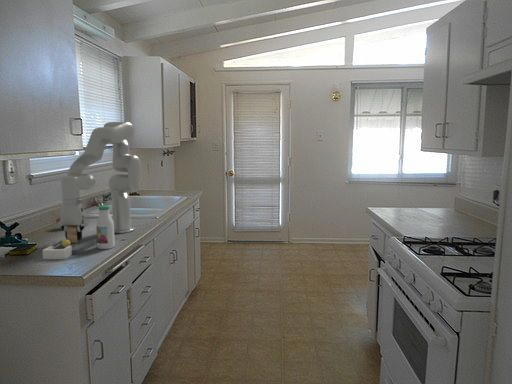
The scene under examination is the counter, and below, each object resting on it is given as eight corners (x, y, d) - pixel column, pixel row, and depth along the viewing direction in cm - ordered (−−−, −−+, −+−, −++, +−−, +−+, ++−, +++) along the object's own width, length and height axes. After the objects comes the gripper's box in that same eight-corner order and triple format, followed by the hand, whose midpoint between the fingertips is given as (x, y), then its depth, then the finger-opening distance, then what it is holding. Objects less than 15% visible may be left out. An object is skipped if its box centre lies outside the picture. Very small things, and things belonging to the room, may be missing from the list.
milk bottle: (109, 244, 191) (107, 204, 188) (118, 246, 186) (115, 205, 183) (94, 247, 185) (91, 206, 182) (103, 250, 180) (100, 208, 177)
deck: (61, 244, 190) (61, 240, 190) (92, 244, 190) (92, 240, 190) (44, 254, 174) (44, 250, 174) (78, 254, 174) (78, 250, 174)
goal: (51, 254, 174) (50, 245, 174) (72, 254, 174) (71, 245, 174) (43, 259, 168) (42, 250, 167) (65, 259, 168) (64, 250, 167)
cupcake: (68, 230, 219) (67, 209, 217) (53, 230, 219) (51, 209, 217) (75, 226, 228) (74, 206, 226) (60, 226, 228) (59, 206, 226)
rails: (59, 245, 182) (59, 244, 182) (79, 245, 182) (79, 243, 182) (50, 250, 174) (50, 248, 174) (71, 250, 174) (71, 248, 174)
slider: (71, 240, 189) (70, 224, 188) (80, 240, 189) (79, 224, 188) (67, 242, 185) (66, 226, 184) (77, 242, 185) (75, 226, 184)
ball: (64, 245, 181) (63, 238, 180) (72, 245, 181) (71, 238, 180) (60, 248, 177) (60, 240, 177) (68, 248, 177) (68, 240, 177)
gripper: (92, 200, 188) (94, 237, 190) (57, 200, 188) (60, 237, 190) (86, 203, 180) (88, 241, 183) (49, 203, 180) (52, 241, 183)
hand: (74, 238), depth 187 cm, fingers closed on slider, 4 cm apart
